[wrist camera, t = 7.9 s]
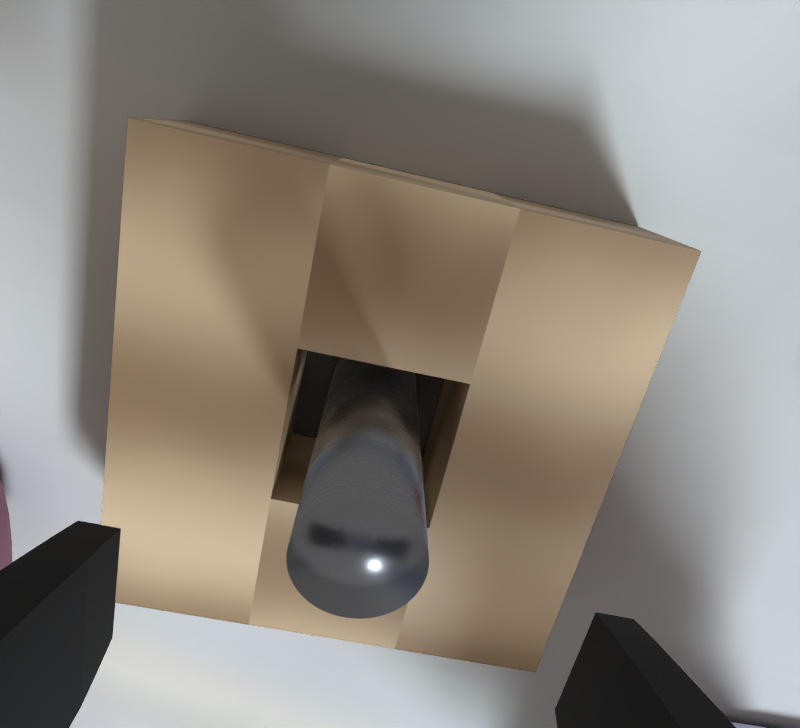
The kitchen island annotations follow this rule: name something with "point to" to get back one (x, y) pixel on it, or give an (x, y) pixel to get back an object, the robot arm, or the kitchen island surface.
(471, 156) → the kitchen island surface
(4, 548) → the pink textured arched piece
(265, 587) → the bore block
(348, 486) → the long pin
